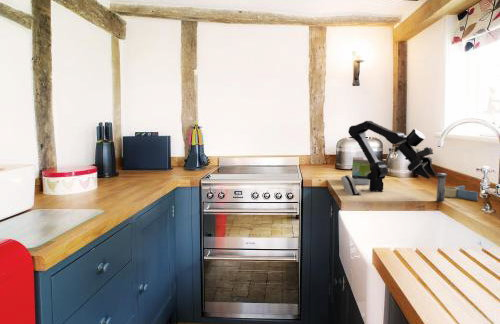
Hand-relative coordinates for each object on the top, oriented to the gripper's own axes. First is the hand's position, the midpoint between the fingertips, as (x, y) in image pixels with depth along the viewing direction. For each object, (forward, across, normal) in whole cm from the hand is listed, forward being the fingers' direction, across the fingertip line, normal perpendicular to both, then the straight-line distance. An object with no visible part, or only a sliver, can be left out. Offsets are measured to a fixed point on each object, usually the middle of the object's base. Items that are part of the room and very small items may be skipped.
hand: (432, 177), depth 177 cm
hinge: (-19, -10, +34) cm, 40 cm away
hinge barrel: (+13, +17, +3) cm, 21 cm away
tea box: (-25, +21, +40) cm, 52 cm away
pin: (+10, 0, +5) cm, 12 cm away
